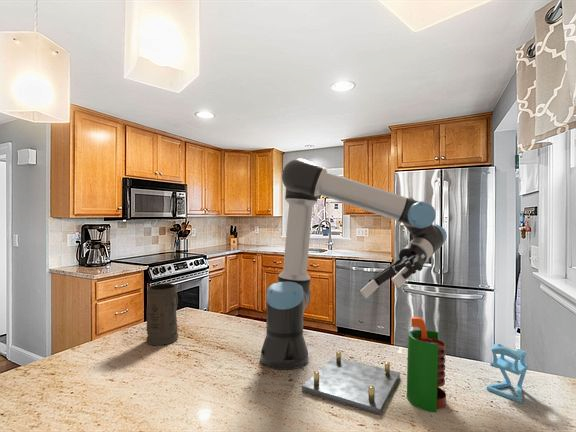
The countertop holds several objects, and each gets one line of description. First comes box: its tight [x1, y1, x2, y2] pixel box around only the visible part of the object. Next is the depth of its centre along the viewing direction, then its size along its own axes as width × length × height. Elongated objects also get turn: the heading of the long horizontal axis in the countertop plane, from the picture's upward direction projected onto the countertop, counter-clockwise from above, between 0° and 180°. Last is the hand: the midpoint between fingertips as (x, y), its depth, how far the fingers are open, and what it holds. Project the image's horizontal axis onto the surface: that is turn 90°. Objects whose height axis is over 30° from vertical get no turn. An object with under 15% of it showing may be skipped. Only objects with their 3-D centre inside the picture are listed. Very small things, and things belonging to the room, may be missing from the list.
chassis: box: [301, 350, 401, 417], centre depth 88 cm, size 20×21×4 cm
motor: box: [406, 316, 447, 413], centre depth 80 cm, size 10×9×20 cm
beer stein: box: [146, 283, 179, 346], centre depth 120 cm, size 15×11×20 cm
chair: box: [486, 343, 529, 403], centre depth 85 cm, size 8×8×12 cm
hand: (378, 289), depth 90 cm, fingers open, 13 cm apart
